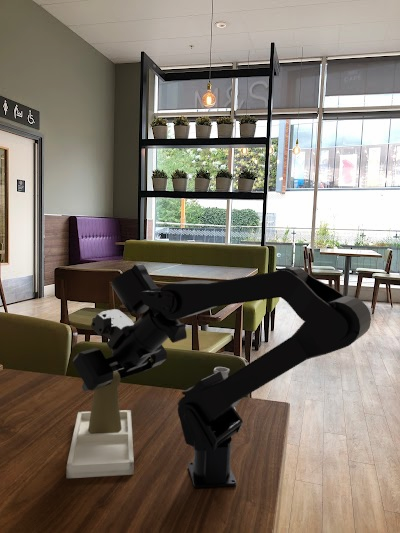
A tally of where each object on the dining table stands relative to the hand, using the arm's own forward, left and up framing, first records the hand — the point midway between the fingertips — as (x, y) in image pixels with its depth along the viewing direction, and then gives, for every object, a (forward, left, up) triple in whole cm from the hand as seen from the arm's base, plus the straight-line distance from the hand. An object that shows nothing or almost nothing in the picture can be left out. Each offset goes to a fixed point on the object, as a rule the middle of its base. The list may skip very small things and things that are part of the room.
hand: (99, 383), depth 82 cm
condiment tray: (-6, -1, -9) cm, 11 cm away
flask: (+4, -24, -9) cm, 26 cm away
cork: (-1, -1, -8) cm, 9 cm away
